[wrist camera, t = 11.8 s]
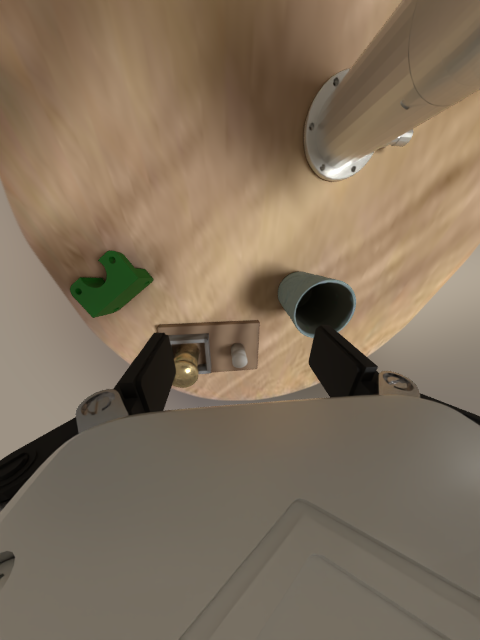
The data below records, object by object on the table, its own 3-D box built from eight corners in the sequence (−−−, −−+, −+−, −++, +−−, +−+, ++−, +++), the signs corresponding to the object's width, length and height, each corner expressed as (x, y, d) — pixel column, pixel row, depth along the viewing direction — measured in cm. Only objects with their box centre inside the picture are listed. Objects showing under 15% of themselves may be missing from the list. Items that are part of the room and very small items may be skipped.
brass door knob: (199, 339, 39) (196, 361, 32) (202, 360, 41) (199, 386, 34) (173, 341, 38) (163, 364, 31) (177, 362, 40) (168, 389, 33)
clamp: (138, 260, 36) (122, 241, 27) (157, 284, 37) (147, 272, 28) (83, 294, 33) (45, 283, 25) (105, 318, 34) (77, 316, 26)
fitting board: (258, 320, 40) (265, 333, 34) (256, 365, 45) (261, 383, 40) (159, 324, 38) (148, 339, 32) (169, 371, 43) (161, 391, 37)
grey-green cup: (324, 295, 39) (364, 315, 28) (287, 321, 41) (312, 349, 30) (304, 257, 35) (341, 264, 24) (263, 288, 37) (282, 307, 26)
